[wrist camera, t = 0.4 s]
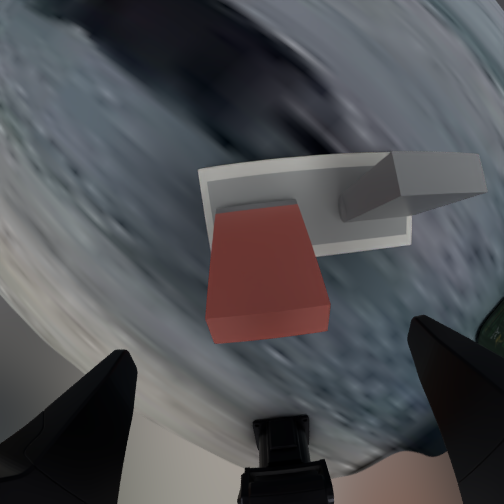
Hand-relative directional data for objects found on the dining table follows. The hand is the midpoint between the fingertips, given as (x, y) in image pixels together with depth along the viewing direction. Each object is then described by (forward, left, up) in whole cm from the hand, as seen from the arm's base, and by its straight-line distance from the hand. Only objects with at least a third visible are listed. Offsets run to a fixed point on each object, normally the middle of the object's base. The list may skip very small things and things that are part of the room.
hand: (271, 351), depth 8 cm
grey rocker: (+2, -8, -11) cm, 14 cm away
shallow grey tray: (+2, -4, -16) cm, 16 cm away
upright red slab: (+2, 0, -11) cm, 11 cm away
